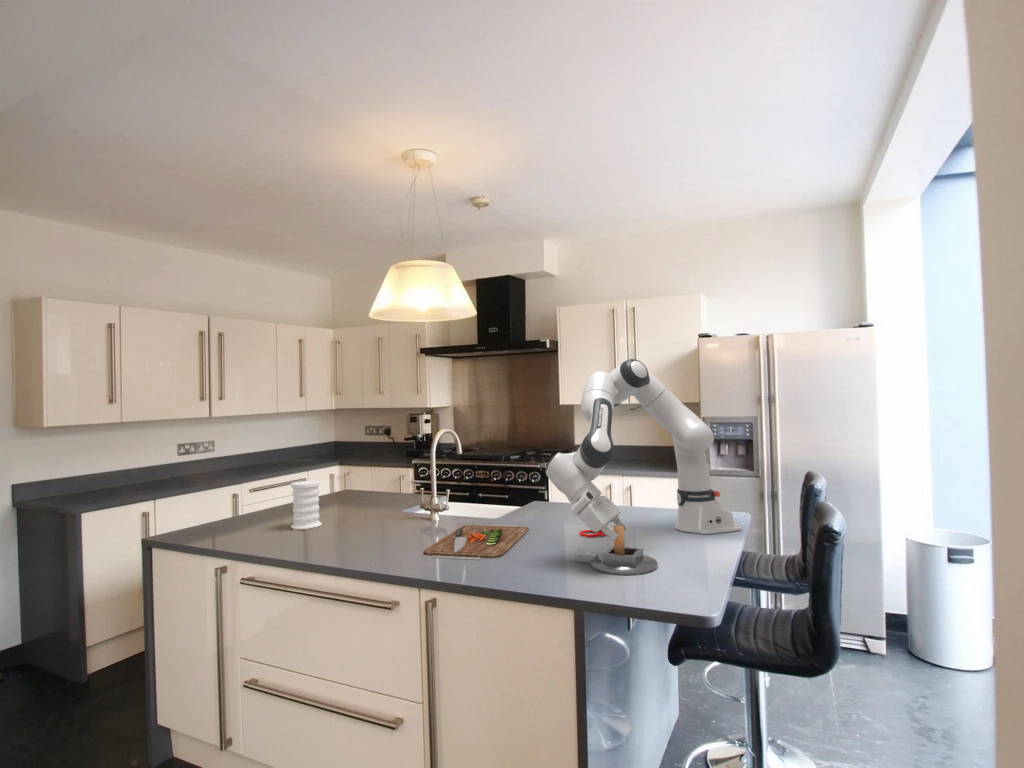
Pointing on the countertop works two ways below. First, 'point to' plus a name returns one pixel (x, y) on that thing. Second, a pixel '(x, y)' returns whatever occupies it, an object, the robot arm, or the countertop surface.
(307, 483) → the decorative container
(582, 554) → the grey peg holder base
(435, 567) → the countertop surface
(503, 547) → the chopping board
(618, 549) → the orange wooden block
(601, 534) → the tow hook
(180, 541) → the countertop surface
